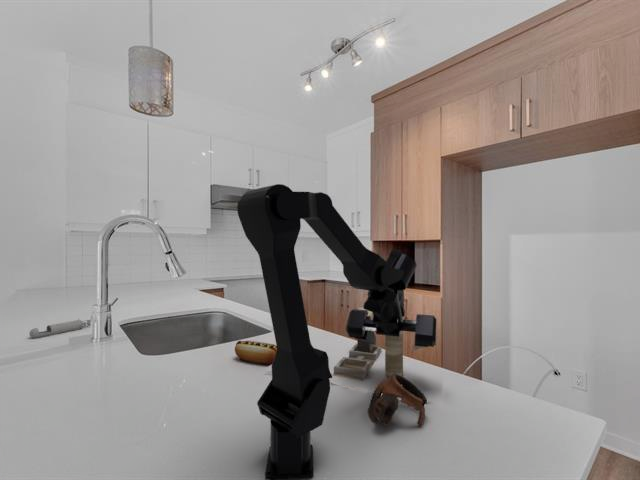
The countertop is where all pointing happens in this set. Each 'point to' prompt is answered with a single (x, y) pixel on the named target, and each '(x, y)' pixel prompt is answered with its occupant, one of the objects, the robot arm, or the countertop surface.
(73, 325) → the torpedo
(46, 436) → the countertop surface
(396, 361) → the beige round canister
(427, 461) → the countertop surface
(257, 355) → the hot dog
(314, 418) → the robot arm
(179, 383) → the countertop surface
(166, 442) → the countertop surface
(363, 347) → the long tan cylinder
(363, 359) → the double slot holder
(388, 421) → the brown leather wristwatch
